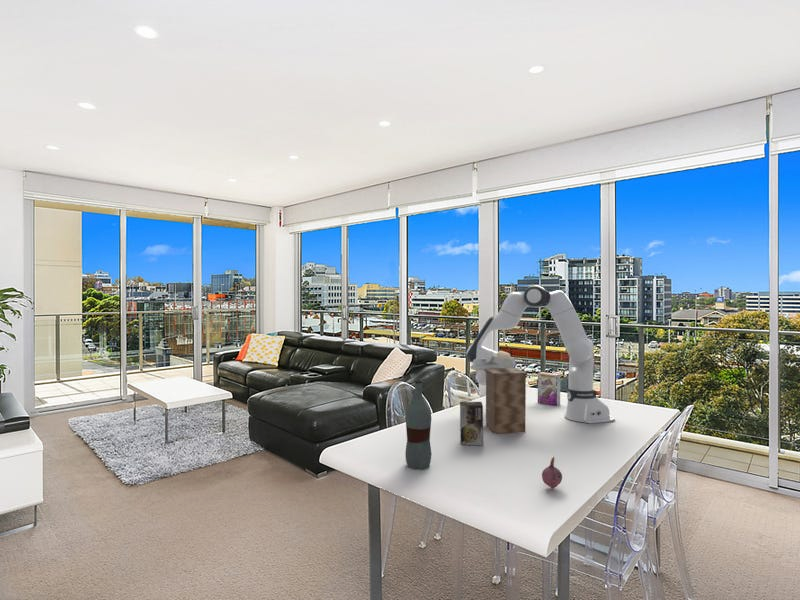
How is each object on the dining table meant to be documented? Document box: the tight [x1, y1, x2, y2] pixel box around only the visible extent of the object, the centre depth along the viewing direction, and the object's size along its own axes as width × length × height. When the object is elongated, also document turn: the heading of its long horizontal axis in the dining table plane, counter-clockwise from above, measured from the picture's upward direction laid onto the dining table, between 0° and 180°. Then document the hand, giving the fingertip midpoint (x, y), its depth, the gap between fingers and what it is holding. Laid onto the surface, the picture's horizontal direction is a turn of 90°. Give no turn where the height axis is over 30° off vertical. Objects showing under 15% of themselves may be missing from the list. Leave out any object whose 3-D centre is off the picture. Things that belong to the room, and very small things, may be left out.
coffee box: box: [459, 401, 484, 446], centre depth 189 cm, size 9×6×16 cm
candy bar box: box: [537, 371, 561, 406], centre depth 256 cm, size 11×5×16 cm, turn 49°
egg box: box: [491, 350, 512, 366], centre depth 213 cm, size 4×18×6 cm, turn 6°
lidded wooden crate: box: [485, 367, 528, 434], centre depth 208 cm, size 15×13×26 cm
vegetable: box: [541, 456, 563, 489], centre depth 145 cm, size 6×6×10 cm
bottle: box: [404, 379, 432, 470], centre depth 164 cm, size 9×9×30 cm
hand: (498, 357), depth 218 cm, fingers closed on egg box, 4 cm apart
